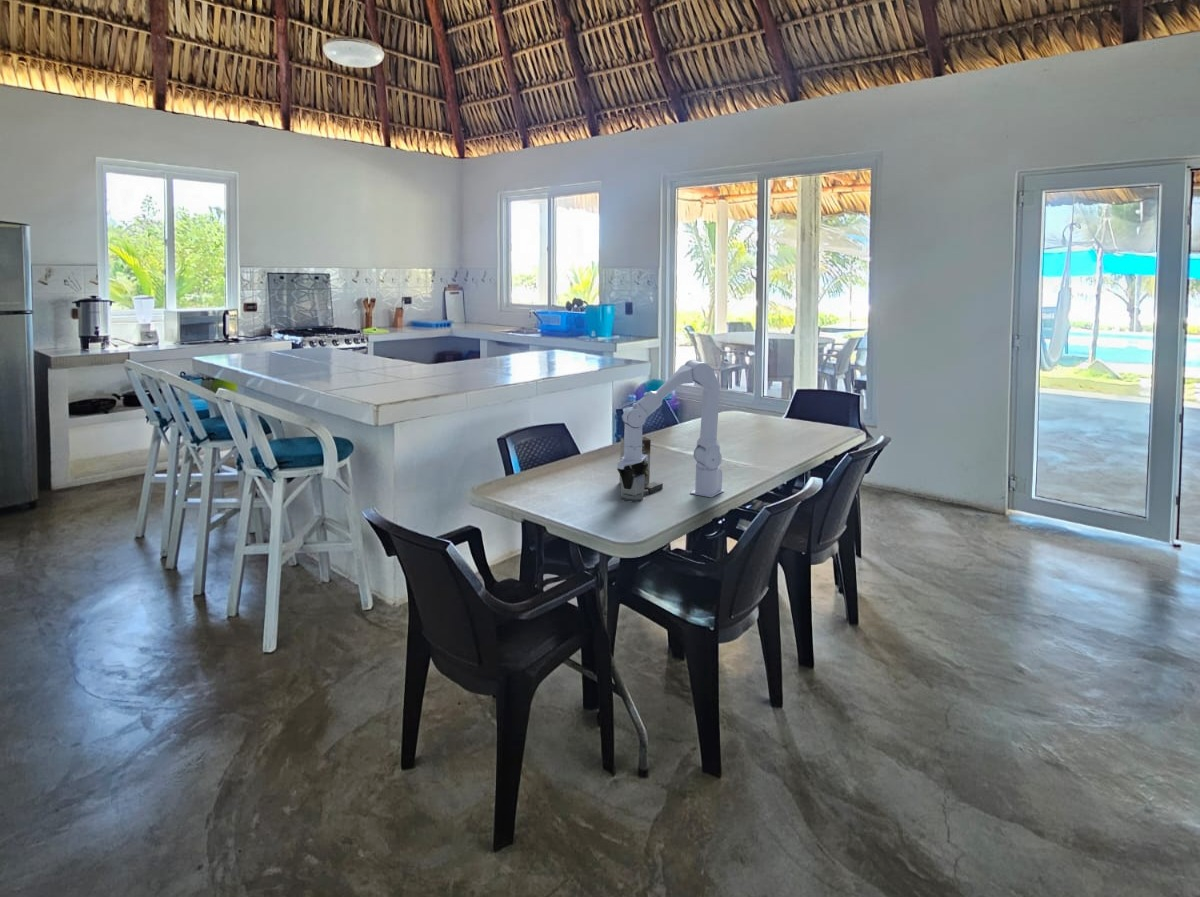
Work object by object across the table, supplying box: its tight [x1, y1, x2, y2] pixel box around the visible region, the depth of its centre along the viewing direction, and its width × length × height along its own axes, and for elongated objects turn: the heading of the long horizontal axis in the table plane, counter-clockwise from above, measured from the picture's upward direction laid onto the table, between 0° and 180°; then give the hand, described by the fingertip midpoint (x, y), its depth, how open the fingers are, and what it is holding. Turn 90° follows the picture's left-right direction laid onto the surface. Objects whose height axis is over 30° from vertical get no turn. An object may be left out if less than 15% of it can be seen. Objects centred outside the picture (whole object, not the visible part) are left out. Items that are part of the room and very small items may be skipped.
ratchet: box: [620, 481, 664, 503], centre depth 256 cm, size 20×7×4 cm, turn 144°
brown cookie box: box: [619, 436, 652, 485], centre depth 266 cm, size 9×6×16 cm
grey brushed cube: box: [620, 472, 645, 496], centre depth 250 cm, size 5×5×6 cm
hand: (632, 486), depth 250 cm, fingers closed on grey brushed cube, 5 cm apart
